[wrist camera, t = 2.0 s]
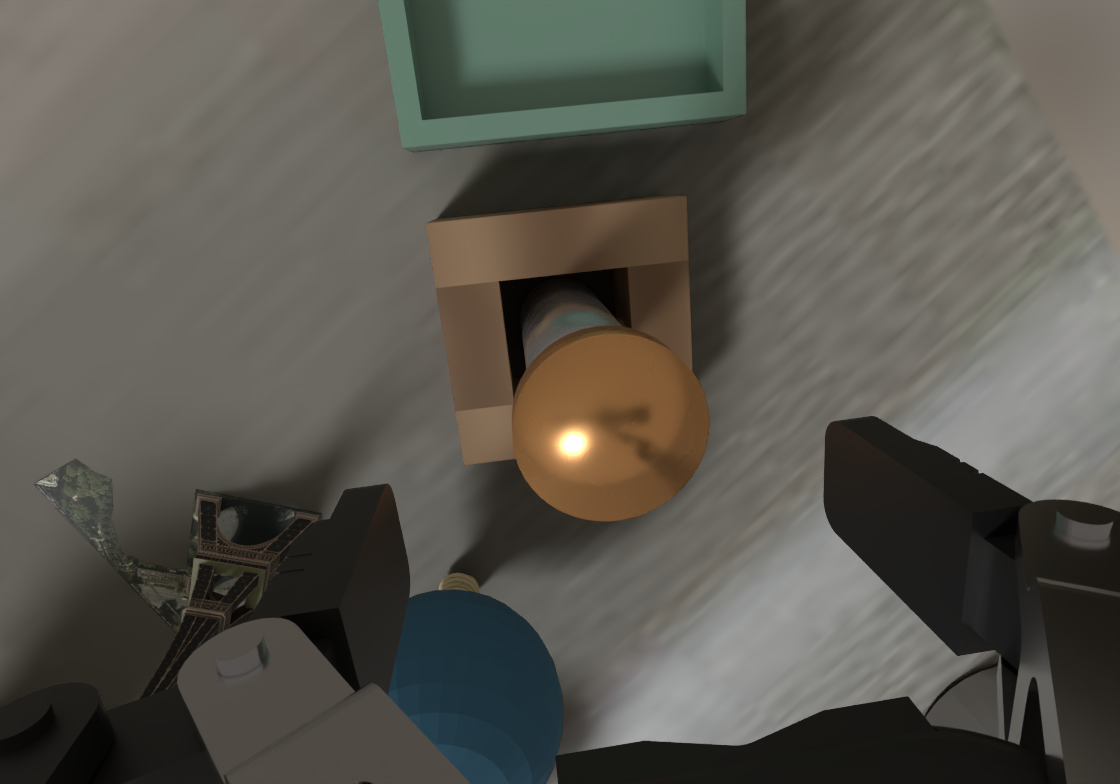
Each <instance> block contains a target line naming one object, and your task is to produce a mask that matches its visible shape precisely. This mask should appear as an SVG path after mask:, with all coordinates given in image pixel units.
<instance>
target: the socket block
mask: <svg viewBox="0 0 1120 784" xmlns="http://www.w3.org/2000/svg"><path fill="white" fill-rule="evenodd" d="M426 230H427V236H428V242H429V248H430V255H431V261H432V267H433V273H434V280H435V286H436V292H437V299H438V305H439V311H440V317H441V324H442V330H443V336H444V343H445V349H446V355H447V361H448V368H449V374H450V380H451V387H452V393H453V399H454V405H455V412H456V418H457V424H458V430H459V437H460V443H461V449H462V456H463V462H464V465H470V464H478V463H486V462H494V461H502V460H510V459H516V458H515V454H514V449H513V441H512V405H513V401H514V396H515V393H516V390H517V387H518V384H519V382H520V380H521V378H522V377H517V378H513V373H512V366H511V358H510V350H509V342H508V334H507V326H506V318H505V310H504V302H503V294H502V287H501V281H505V280H515V279H524V278H533V277H542V276H551V275H560V274H569V273H578V272H587V271H596V270H605V269H613V281H614V295H615V309H616V320H617V321H618V322H619V323H620V324H621V325H622V326H623V327H627V328H632V329H636V330H639V331H641V332H644V333H647V334H649V335H651V336H653V337H654V338H656V339H658V340H659V341H661V342H662V343H664V344H665V345H666V346H667V347H669V348H670V349H671V350H672V351H673V352H674V353H675V354H676V355H677V356H678V357H679V358H680V359H681V360H682V361H683V362H684V363H685V364H686V365H687V366H688V367H689V368H690V370H691V371H692V342H691V313H690V283H689V253H688V223H687V196H669V195H661V196H651V197H642V198H632V199H623V200H613V201H604V202H594V203H584V204H575V205H565V206H556V207H546V208H537V209H527V210H518V211H508V212H498V213H489V214H479V215H470V216H460V217H451V218H441V219H435V220H433V221H430V222H428V223H426Z"/></svg>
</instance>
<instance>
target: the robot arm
mask: <svg viewBox="0 0 1120 784" xmlns="http://www.w3.org/2000/svg"><path fill="white" fill-rule="evenodd" d="M824 508H825V512H826V516H827V519H828V521H829V524H830V525H831V527H832V529H833V530H834V532H835V533H836V534H837V535H838V536H839V537H840V538H841V539H842V540H843V541H844V542H845V543H846V544H847V545H848V546H849V547H850V548H851V549H852V550H853V551H854V552H855V553H856V554H857V555H858V556H859V557H860V558H861V559H862V560H863V561H864V562H865V563H866V564H867V565H868V566H869V567H870V568H871V569H872V570H873V571H874V572H875V573H876V574H877V575H878V576H879V577H880V578H881V579H882V580H883V581H884V582H885V583H886V584H887V585H888V586H889V587H890V588H891V589H892V590H893V591H894V592H895V594H896V595H897V596H898V597H899V598H900V599H901V600H902V601H903V602H904V603H905V604H906V605H907V606H908V607H909V608H910V609H911V610H912V611H913V612H914V613H915V614H916V615H917V616H918V617H919V618H920V619H921V620H922V621H923V622H924V623H925V624H926V625H927V626H928V627H929V628H930V629H931V630H932V631H933V632H934V633H935V634H936V635H937V636H938V637H939V638H940V639H941V640H942V641H943V642H944V643H945V644H946V645H947V646H948V647H949V648H950V649H951V650H952V651H953V652H954V653H955V654H956V655H957V656H960V655H966V654H972V653H978V652H984V651H990V650H996V651H997V652H998V653H999V662H998V666H996V667H993V668H990V669H986V670H983V671H980V672H978V673H976V674H974V675H972V676H970V677H968V678H966V679H964V680H963V681H961V682H960V683H958V684H957V685H956V686H954V687H953V688H951V689H950V690H949V691H948V692H947V693H945V694H944V695H943V696H942V697H941V698H940V699H939V700H938V701H937V702H936V704H935V705H934V706H933V708H932V709H931V710H930V712H929V713H928V714H927V716H926V718H925V717H924V716H923V714H922V713H921V712H920V711H919V709H918V708H917V707H916V706H915V704H914V703H913V702H912V701H911V700H910V698H909V697H908V696H907V697H901V698H895V699H889V700H883V701H877V702H871V703H865V704H859V705H853V706H847V707H842V708H836V709H830V710H824V711H821V712H819V713H817V714H815V715H812V716H810V717H808V718H806V719H803V720H801V721H799V722H797V723H795V724H792V725H790V726H788V727H786V728H783V729H781V730H779V731H777V732H774V733H772V734H770V735H768V736H766V737H763V738H761V739H759V740H757V741H754V742H752V743H749V744H746V745H740V746H730V745H712V744H693V743H675V742H656V741H640V742H634V743H628V744H622V745H616V746H611V747H605V748H599V749H593V750H587V751H581V752H575V753H569V754H563V755H557V756H555V758H556V767H557V777H558V784H1120V512H1119V511H1116V510H1113V509H1110V508H1107V507H1103V506H1100V505H1095V504H1091V503H1086V502H1080V501H1072V500H1057V499H1054V500H1041V501H1035V502H1032V501H1031V500H1029V499H1027V498H1025V497H1024V496H1022V495H1020V494H1018V493H1017V492H1015V491H1013V490H1012V489H1010V488H1008V487H1006V486H1005V485H1003V484H1001V483H999V482H998V481H996V480H994V479H993V478H991V477H989V476H987V475H986V474H984V473H980V474H979V472H978V470H977V469H975V468H974V467H972V466H970V465H968V464H967V463H965V462H960V459H958V458H956V457H955V456H953V455H951V454H949V453H948V452H946V451H944V450H942V449H941V448H939V447H937V446H934V445H931V444H928V443H924V442H921V441H918V440H915V439H913V438H911V437H909V436H908V435H906V434H904V433H903V432H901V431H899V430H898V429H896V428H894V427H893V426H891V425H889V424H888V423H886V422H884V421H882V420H881V419H879V418H877V417H875V416H869V417H862V418H855V419H848V420H840V421H834V422H831V423H830V424H829V425H828V427H827V430H826V434H825V462H824ZM409 594H410V573H409V564H408V558H407V554H406V549H405V544H404V540H403V535H402V530H401V526H400V521H399V516H398V512H397V507H396V502H395V498H394V494H393V491H392V488H391V486H390V485H389V484H381V485H374V486H367V487H360V488H353V489H346V490H345V491H344V492H343V494H342V496H341V498H340V500H339V502H338V504H337V506H336V508H335V510H334V512H333V514H332V516H331V518H330V519H328V520H321V521H316V522H315V523H314V524H312V525H311V526H310V527H309V528H308V529H306V530H305V531H304V532H303V533H302V534H300V535H299V536H298V537H297V538H295V540H294V542H293V543H292V545H291V547H290V549H289V550H288V552H287V554H286V556H285V561H282V563H281V564H280V566H279V568H278V569H277V571H276V577H273V578H272V580H271V582H270V583H269V585H268V587H267V589H266V590H265V592H264V594H263V595H262V597H261V599H260V601H259V602H258V604H257V606H256V608H255V609H254V611H253V613H252V615H251V616H250V618H249V620H248V621H247V622H245V623H242V624H240V625H237V626H234V627H232V628H230V629H227V630H225V631H223V632H221V633H220V634H218V635H216V636H214V637H213V638H211V639H210V640H208V641H207V642H205V643H204V644H203V645H201V646H200V647H199V648H198V649H197V650H195V651H194V652H193V653H192V654H191V655H190V656H189V658H188V659H187V660H186V661H185V662H184V664H183V666H182V667H181V669H180V671H179V674H178V679H177V684H178V685H176V686H174V687H171V688H169V689H166V690H164V691H161V692H158V693H155V694H153V695H150V696H147V697H144V698H141V699H139V700H136V701H133V702H130V703H128V704H125V705H122V706H119V707H116V708H114V709H111V710H108V711H106V710H105V708H104V705H103V703H102V701H101V698H100V696H99V694H98V691H97V690H96V689H95V688H94V687H93V686H91V685H88V684H84V683H68V684H61V685H57V686H52V687H49V688H46V689H43V690H39V691H37V692H34V693H32V694H29V695H27V696H24V697H22V698H20V699H18V700H16V701H14V702H12V703H10V704H8V705H6V706H5V707H3V708H1V709H0V784H471V783H470V782H469V781H468V780H467V779H466V778H465V777H464V776H463V775H462V774H461V773H460V772H459V771H458V770H457V769H456V767H455V766H454V765H453V764H452V763H451V762H450V761H449V760H448V759H447V758H446V757H445V756H444V755H443V754H442V753H441V752H440V750H439V749H438V748H437V747H436V746H435V745H434V744H433V743H432V742H431V741H430V740H429V739H428V738H427V737H426V736H425V735H424V733H423V732H422V731H421V730H420V729H419V728H418V727H417V726H416V725H415V724H414V723H413V722H412V721H411V720H410V719H409V718H408V716H407V715H406V714H405V713H404V712H403V711H402V710H401V709H400V708H399V707H398V706H397V705H396V704H395V703H394V702H393V701H392V700H391V698H390V697H389V696H388V693H389V688H390V684H391V679H392V674H393V670H394V665H395V660H396V656H397V651H398V646H399V642H400V637H401V632H402V627H403V623H404V618H405V613H406V609H407V604H408V599H409Z"/></svg>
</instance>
